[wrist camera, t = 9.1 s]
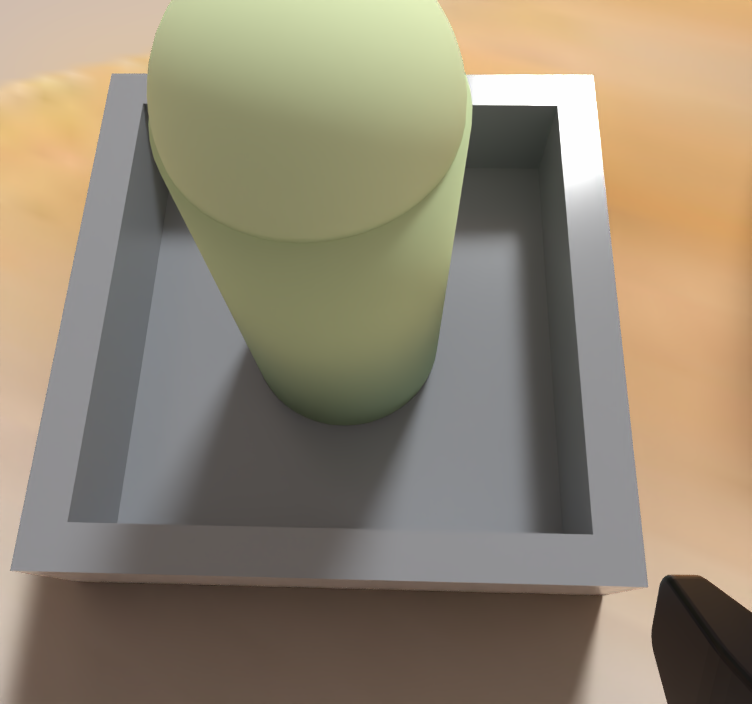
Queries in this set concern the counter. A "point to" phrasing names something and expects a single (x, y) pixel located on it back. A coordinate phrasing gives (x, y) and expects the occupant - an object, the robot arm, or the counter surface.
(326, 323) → the pale green capsule
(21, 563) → the gray square tray
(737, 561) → the counter surface
